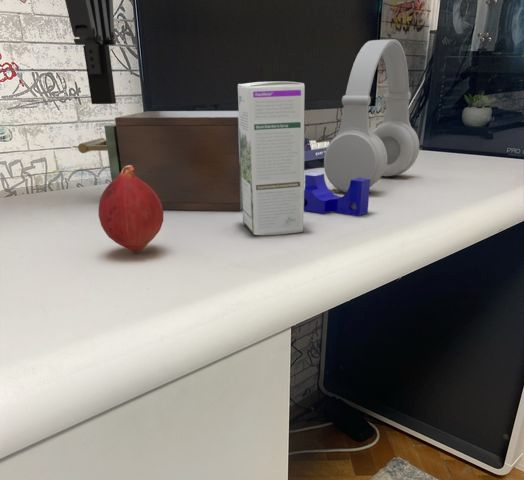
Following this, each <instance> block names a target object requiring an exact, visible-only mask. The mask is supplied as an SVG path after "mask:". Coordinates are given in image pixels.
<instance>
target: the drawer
mask: <svg viewBox="0 0 524 480" xmlns="http://www.w3.org/2000/svg"><path fill="white" fill-rule="evenodd" d="M103 128H104V133H105V134H104V135H105V138H104V137H99V138H96V139H92V140H88V141H84V142H81V143H79V144H78V146H77V150H78V152H80V153H81V154H87V153H89V152H96V151H97V152H98V151H99V152H101V151H103V152H106V151H107V156H108V165H109V170H110V178H111V179H110V180H111V182H112V181H113V180H114V179H115V178H116V177H117V176H118V175H119V174H120V172H121V171H122V170H121V162H120V154H119V146H118V138H117V130H116V122H115V123H112V124H111V123H110V124H107V125H104V127H103Z"/></svg>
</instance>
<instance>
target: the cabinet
mask: <svg viewBox="0 0 524 480" xmlns="http://www.w3.org/2000/svg"><path fill="white" fill-rule="evenodd" d="M114 120H115V121H114V122H115V123H116V130H117V138H118V146H119V154H120V162H121V170H123V168H124V167H125V166H128V165H132V166H133V168H134V173H135V176H136V177H138V178H139V179H141V180H142V181H144V182H145V183H146V184H147V185H149V186H150V187H151V188H152V189H153V190H154V192H155V193H156V194H157V196H158V198H159V200H160V202H161V204H162V208H163V211H216V212H217V211H218V212H219V211H220V212H222V211H224V212H241V211H242V210H243V207H242V184H241V156H240V135H239V110H170V111H169V110H159V111H158V110H155V111H154V110H151V111H149V110H146V111H142V112H137V113H131V114H127V115H126V114H125V115H121V116H116V117H114Z"/></svg>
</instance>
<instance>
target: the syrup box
mask: <svg viewBox="0 0 524 480" xmlns="http://www.w3.org/2000/svg"><path fill="white" fill-rule="evenodd" d="M305 88H306V87H305V83H304V82H299V81H298V82H296V81H255V82H254V81H253V82H246V83H238V84H237V101H238V102H237V103H238V106H237V107H238V111H239V135H240V156H241V184H242V207H243V208H242V224H243V225H244V226H245V227H246V228H247V229H248V230H249V231H250V233H252V235H254V236H275V235H276V236H277V235H285V234H286V235H287V234H296V233H297V234H298V233H303V232H304V218H305V217H304V215H305V214H304V213H305V212H304V187H305V97H306V96H305V95H306V93H305V91H306V90H305Z"/></svg>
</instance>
